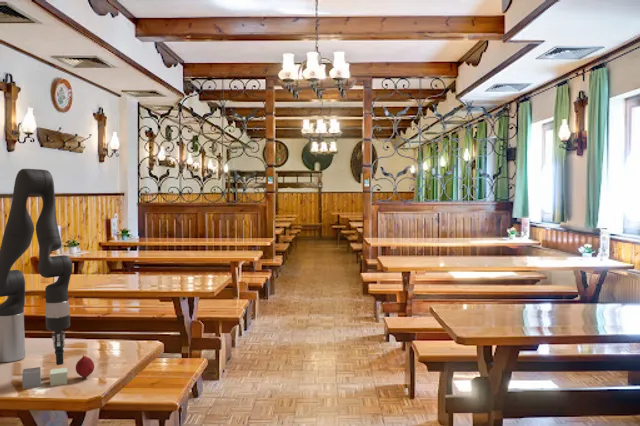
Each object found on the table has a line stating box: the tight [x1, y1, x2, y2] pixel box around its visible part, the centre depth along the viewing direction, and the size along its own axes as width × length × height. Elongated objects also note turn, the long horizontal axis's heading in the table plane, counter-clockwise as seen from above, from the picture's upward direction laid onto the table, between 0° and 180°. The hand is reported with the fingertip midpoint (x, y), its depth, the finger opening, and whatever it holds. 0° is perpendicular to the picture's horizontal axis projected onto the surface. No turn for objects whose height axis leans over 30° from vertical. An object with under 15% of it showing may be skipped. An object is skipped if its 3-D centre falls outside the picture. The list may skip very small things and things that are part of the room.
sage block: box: [49, 367, 69, 387], centre depth 185 cm, size 5×5×4 cm
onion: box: [75, 354, 95, 379], centre depth 189 cm, size 6×6×8 cm
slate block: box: [21, 366, 42, 390], centre depth 183 cm, size 5×5×5 cm
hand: (59, 364), depth 192 cm, fingers closed
